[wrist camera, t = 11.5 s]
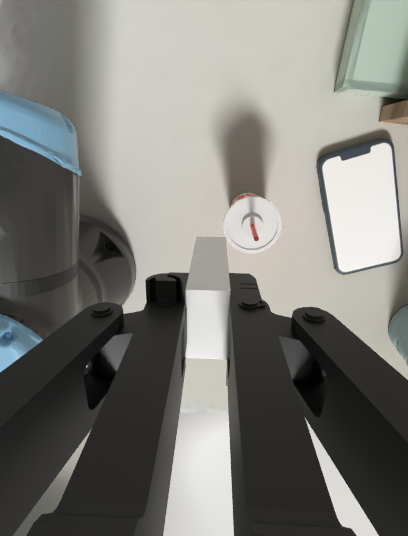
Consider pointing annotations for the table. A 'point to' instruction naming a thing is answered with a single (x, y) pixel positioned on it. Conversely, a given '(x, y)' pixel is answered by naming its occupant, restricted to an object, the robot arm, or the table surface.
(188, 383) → the table surface
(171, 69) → the table surface
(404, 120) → the walnut shelf
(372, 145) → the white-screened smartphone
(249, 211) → the beverage cup
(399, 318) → the teal tapered cup
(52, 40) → the table surface
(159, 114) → the table surface
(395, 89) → the bevelled sage-green slab
